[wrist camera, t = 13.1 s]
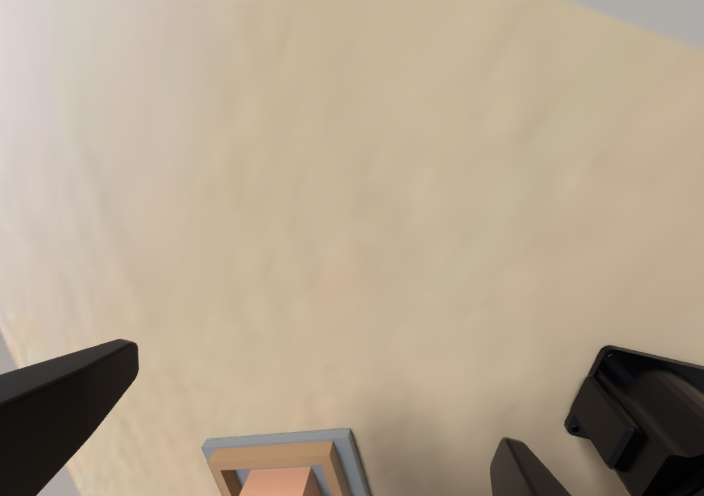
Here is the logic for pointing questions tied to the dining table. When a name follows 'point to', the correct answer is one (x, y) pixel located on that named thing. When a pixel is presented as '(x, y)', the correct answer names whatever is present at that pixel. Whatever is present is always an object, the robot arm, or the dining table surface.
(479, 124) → the dining table surface
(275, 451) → the base board
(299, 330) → the dining table surface
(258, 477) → the pillar block
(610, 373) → the robot arm
